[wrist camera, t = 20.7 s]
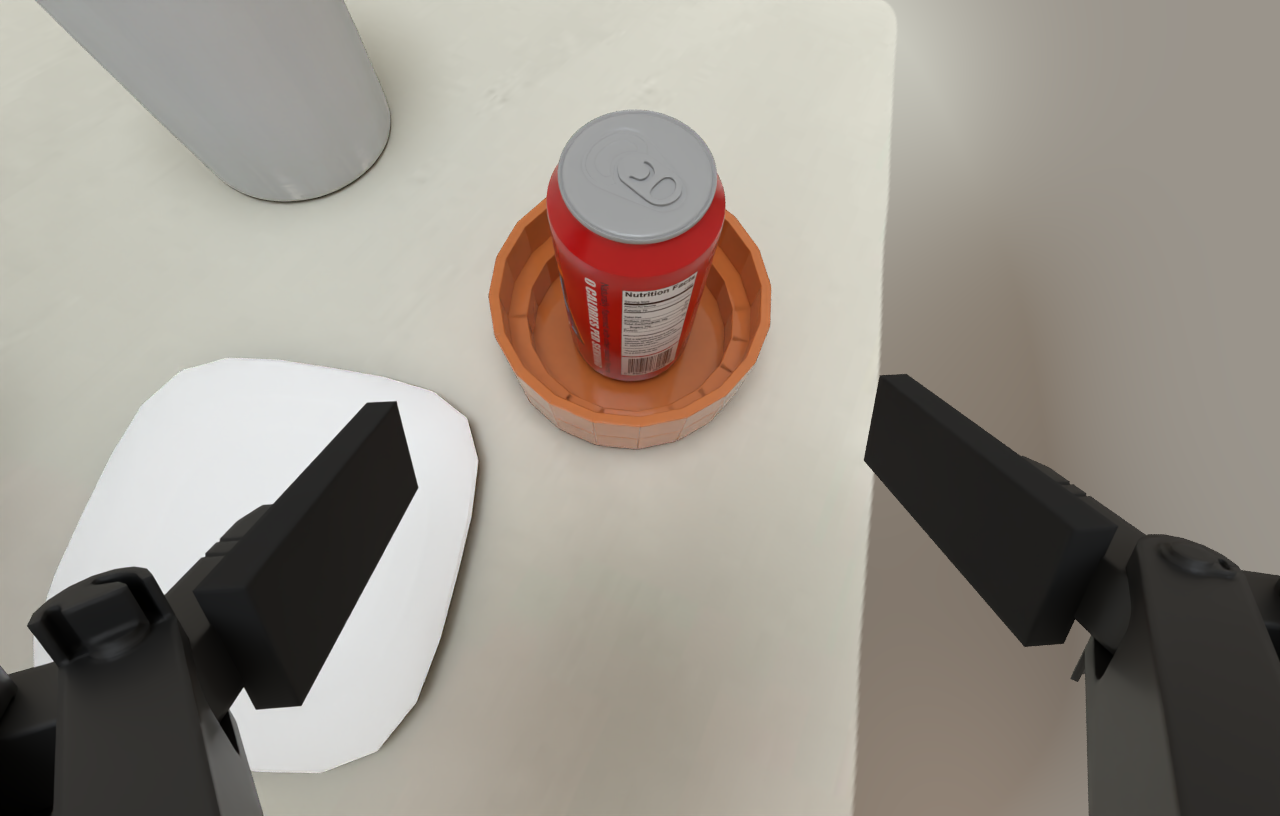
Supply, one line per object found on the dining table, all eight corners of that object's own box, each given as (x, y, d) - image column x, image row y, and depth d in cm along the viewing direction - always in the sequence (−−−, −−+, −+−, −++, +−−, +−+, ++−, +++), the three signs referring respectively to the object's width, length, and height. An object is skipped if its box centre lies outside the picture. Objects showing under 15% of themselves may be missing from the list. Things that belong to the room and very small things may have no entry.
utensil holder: (258, 35, 43) (27, -310, 26) (431, 80, 42) (308, -245, 25) (160, 178, 38) (-195, -126, 22) (351, 231, 38) (138, -41, 21)
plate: (411, 786, 28) (398, 800, 26) (13, 717, 28) (-24, 726, 26) (507, 402, 34) (501, 394, 33) (182, 348, 35) (161, 338, 33)
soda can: (636, 410, 34) (649, 292, 20) (547, 336, 35) (498, 176, 21) (711, 327, 36) (772, 165, 22) (624, 260, 37) (627, 65, 23)
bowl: (460, 341, 35) (429, 297, 30) (621, 195, 39) (621, 131, 34) (639, 502, 33) (644, 488, 27) (793, 328, 37) (825, 283, 31)
